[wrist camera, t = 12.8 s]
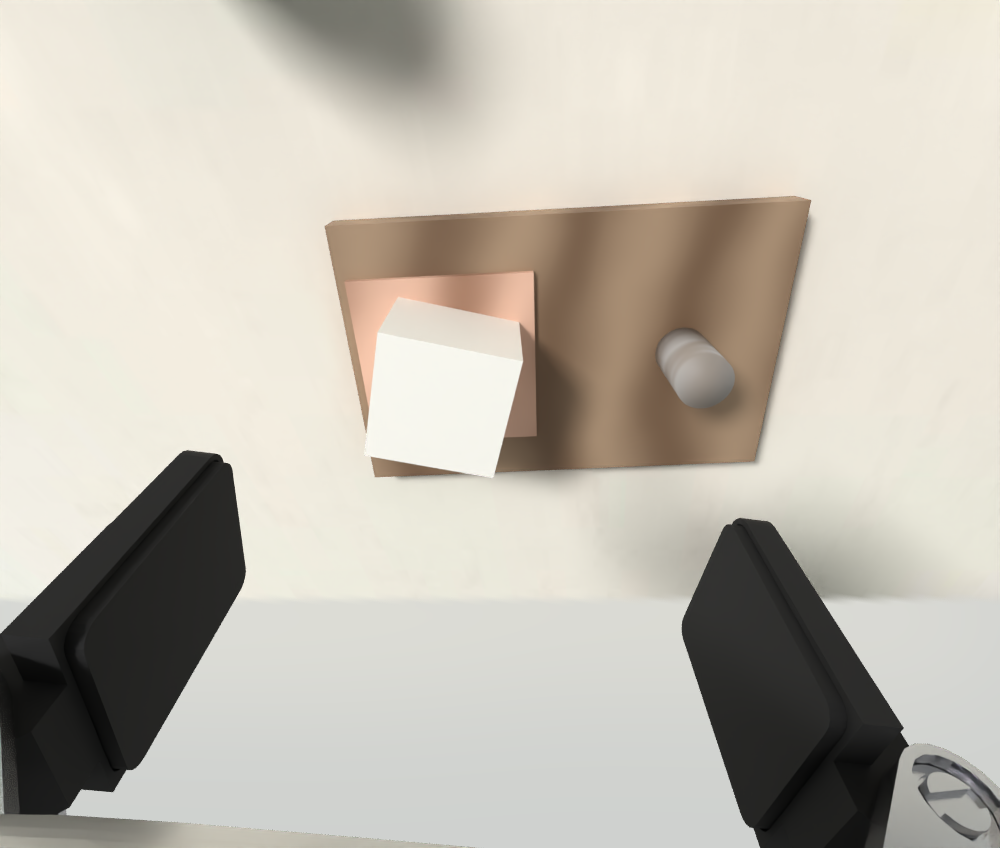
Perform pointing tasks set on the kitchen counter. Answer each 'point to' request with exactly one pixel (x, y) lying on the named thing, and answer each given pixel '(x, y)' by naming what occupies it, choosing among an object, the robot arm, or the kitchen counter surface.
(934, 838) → the robot arm
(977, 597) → the kitchen counter surface
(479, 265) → the post board
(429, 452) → the matte white cube
